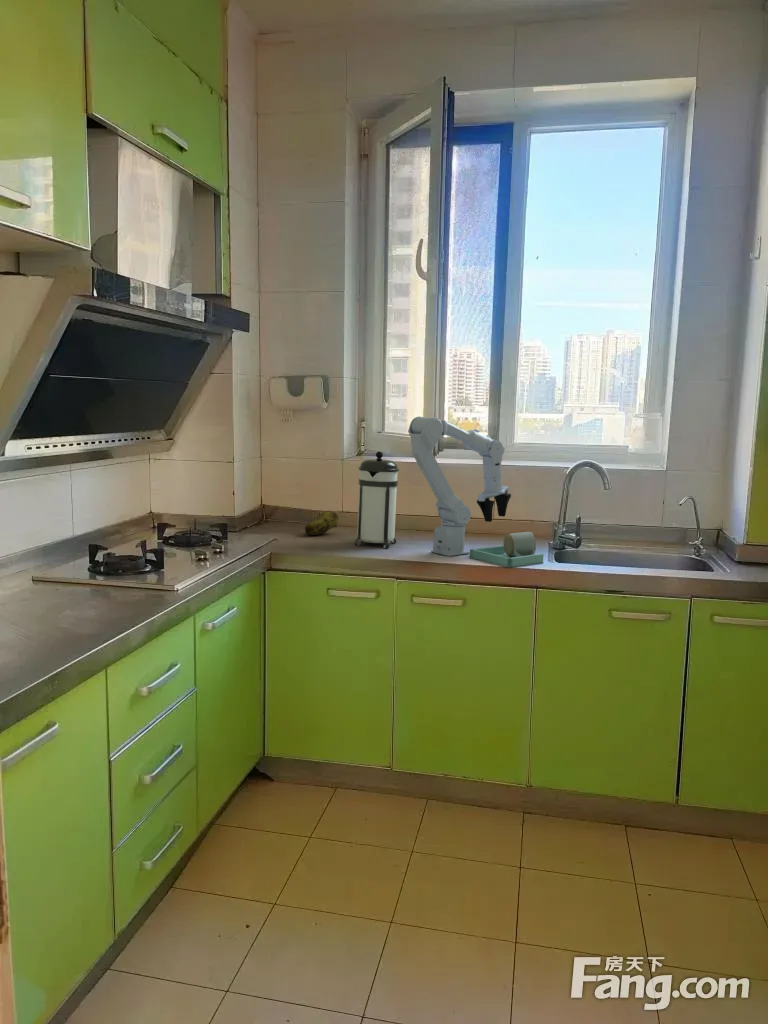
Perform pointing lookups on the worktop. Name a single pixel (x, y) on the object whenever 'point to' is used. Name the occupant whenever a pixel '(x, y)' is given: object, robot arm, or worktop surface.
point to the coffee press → (377, 501)
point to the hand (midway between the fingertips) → (495, 518)
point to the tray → (503, 557)
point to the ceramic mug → (519, 544)
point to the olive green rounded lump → (322, 523)
